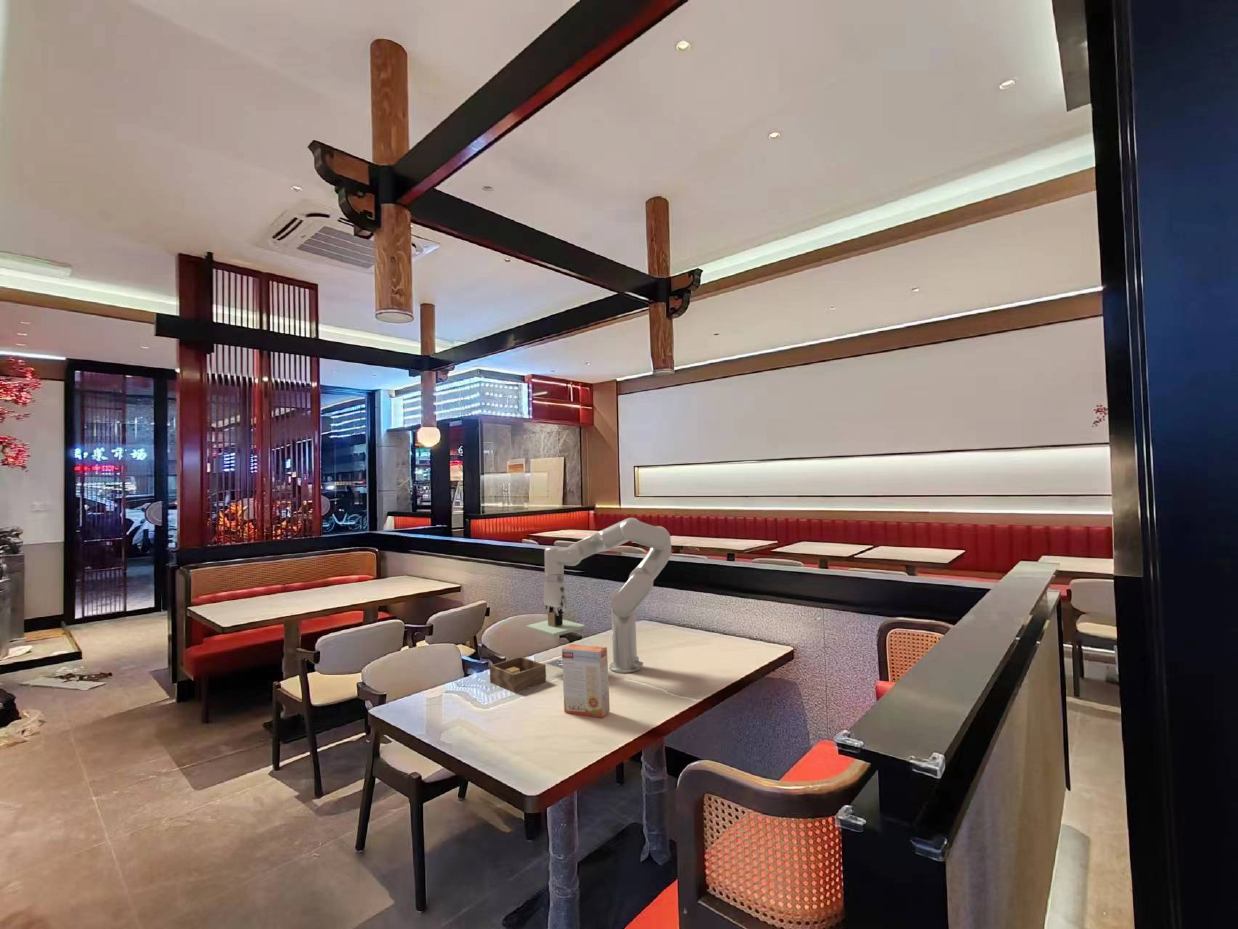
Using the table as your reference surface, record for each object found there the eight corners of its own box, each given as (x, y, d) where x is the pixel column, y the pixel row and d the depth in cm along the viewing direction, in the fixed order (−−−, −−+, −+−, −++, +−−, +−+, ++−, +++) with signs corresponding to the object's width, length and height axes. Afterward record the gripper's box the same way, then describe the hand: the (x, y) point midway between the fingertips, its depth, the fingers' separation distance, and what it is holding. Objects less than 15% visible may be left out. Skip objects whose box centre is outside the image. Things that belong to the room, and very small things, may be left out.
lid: (585, 630, 220) (585, 612, 220) (553, 638, 209) (553, 620, 209) (557, 622, 233) (556, 606, 233) (525, 630, 222) (525, 613, 222)
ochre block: (520, 679, 210) (519, 668, 210) (511, 682, 207) (510, 671, 207) (514, 677, 212) (513, 666, 213) (505, 680, 210) (504, 669, 210)
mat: (591, 669, 220) (591, 668, 220) (555, 682, 207) (555, 681, 207) (560, 659, 234) (560, 658, 234) (524, 671, 221) (524, 670, 221)
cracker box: (610, 711, 179) (607, 646, 180) (602, 719, 174) (599, 651, 174) (572, 705, 185) (570, 642, 186) (563, 712, 180) (561, 647, 180)
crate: (546, 683, 206) (545, 664, 207) (514, 695, 197) (513, 675, 197) (521, 674, 218) (520, 656, 218) (490, 684, 208) (489, 665, 208)
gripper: (575, 578, 218) (576, 625, 218) (549, 574, 230) (549, 618, 230) (560, 581, 213) (561, 629, 212) (534, 577, 225) (535, 622, 224)
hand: (555, 623), depth 221 cm, fingers closed on lid, 4 cm apart
